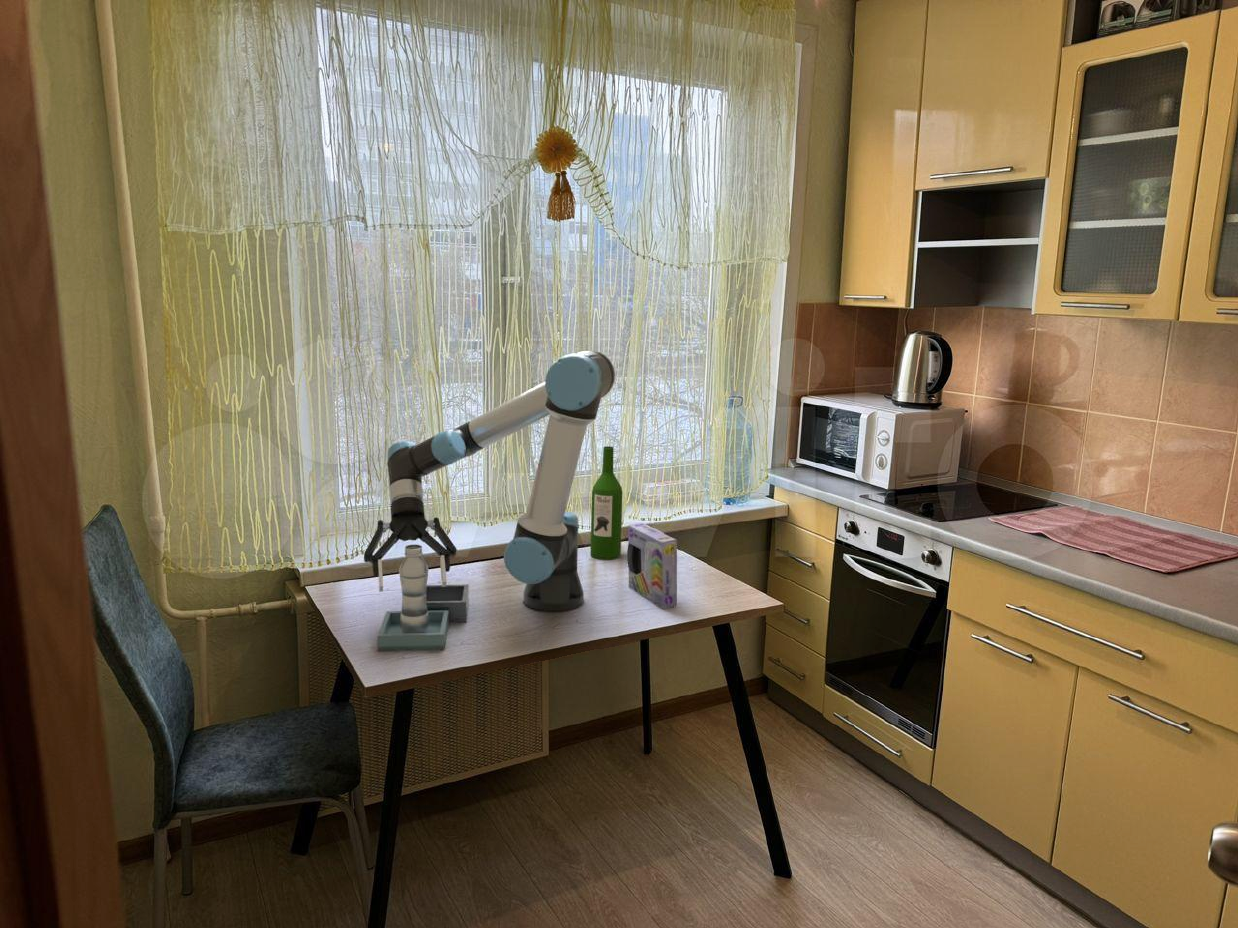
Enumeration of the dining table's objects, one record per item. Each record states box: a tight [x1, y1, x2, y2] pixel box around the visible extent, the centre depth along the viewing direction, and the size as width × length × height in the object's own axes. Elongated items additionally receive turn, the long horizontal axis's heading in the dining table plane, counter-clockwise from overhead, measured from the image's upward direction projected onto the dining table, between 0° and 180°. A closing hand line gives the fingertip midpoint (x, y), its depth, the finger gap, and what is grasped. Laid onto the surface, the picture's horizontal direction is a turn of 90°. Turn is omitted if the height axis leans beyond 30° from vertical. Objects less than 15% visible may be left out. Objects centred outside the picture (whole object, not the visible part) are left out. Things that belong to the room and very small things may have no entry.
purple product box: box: [626, 522, 678, 609], centre depth 221 cm, size 19×5×18 cm, turn 27°
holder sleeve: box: [426, 584, 470, 624], centre depth 207 cm, size 12×12×5 cm
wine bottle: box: [590, 445, 623, 561], centre depth 251 cm, size 9×9×32 cm
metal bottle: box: [398, 544, 430, 633], centre depth 191 cm, size 6×7×20 cm
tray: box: [377, 610, 450, 652], centre depth 193 cm, size 14×14×4 cm
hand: (413, 586), depth 190 cm, fingers open, 13 cm apart
